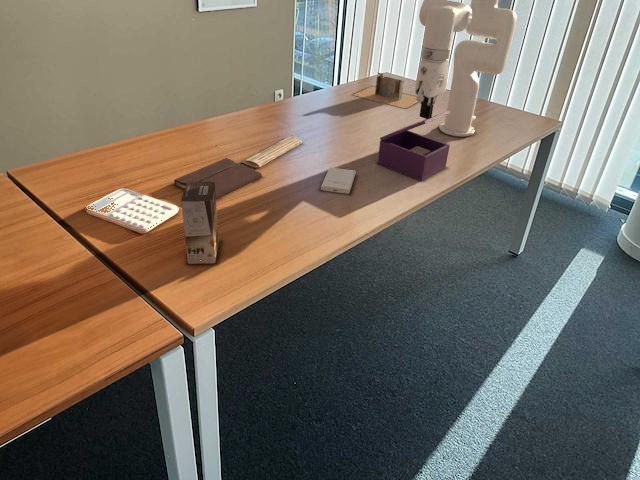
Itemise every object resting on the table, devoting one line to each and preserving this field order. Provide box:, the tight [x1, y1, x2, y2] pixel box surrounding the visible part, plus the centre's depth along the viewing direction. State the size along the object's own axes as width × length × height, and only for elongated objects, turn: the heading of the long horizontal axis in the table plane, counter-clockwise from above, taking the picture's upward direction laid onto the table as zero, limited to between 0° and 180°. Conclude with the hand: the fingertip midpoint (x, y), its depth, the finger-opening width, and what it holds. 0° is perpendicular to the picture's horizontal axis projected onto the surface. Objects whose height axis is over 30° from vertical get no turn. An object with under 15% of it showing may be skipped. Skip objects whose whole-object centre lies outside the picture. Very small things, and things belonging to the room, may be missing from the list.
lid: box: [379, 110, 450, 140], centre depth 161 cm, size 17×14×1 cm
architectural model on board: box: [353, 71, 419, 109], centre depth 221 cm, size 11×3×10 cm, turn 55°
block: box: [410, 146, 431, 156], centre depth 164 cm, size 5×5×5 cm
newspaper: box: [240, 136, 303, 169], centre depth 170 cm, size 24×7×2 cm, turn 148°
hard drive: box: [320, 167, 357, 194], centre depth 155 cm, size 2×8×12 cm
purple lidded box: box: [377, 130, 451, 182], centre depth 165 cm, size 17×14×8 cm
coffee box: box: [180, 182, 220, 265], centre depth 118 cm, size 9×6×16 cm
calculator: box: [85, 188, 179, 234], centre depth 135 cm, size 13×20×2 cm, turn 62°
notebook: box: [174, 157, 263, 200], centre depth 152 cm, size 15×20×2 cm
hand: (425, 117), depth 157 cm, fingers closed
